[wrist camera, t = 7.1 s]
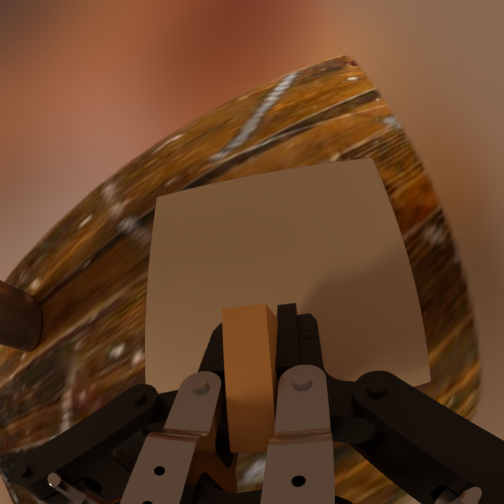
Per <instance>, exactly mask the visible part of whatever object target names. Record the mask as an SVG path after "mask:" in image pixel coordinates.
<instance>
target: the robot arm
mask: <svg viewBox="0 0 504 504" xmlns="http://www.w3.org/2000/svg"><path fill="white" fill-rule="evenodd" d="M277 319H278V327H277V345H276V361H275V370H276V374H277V379H278V396H277V408H276V419H275V430H274V435H273V437H270V439H269V443H268V449H267V457H266V466H265V473H264V481H263V488H262V489H260V490H255V491H249V492H243V493H237V481H236V477H235V468H236V462H237V456H238V452H230V442H229V429H228V416H227V402H226V387H225V370H224V351H223V329H222V323H220V324H219V325H218V326H217V327H216V328H215V329H214V330H213V332H212V335H211V337H210V342H209V343H208V345H207V349H206V351H205V353H204V356H203V359H202V361H201V364H200V367H199V369H198V372H197V373H194V374H192V375H190V376H188V377H187V378H186V379H185V380H184V381H183V382H182V383H181V385H180V388H179V389H178V390H174V391H169V392H164V393H159V394H158V392H157V390H156V389H155V388H154V387H153V386H152V385H149V384H139V385H135V386H133V387H131V388H130V389H128V390H127V391H125V392H124V393H122V394H121V395H119V396H118V397H116V398H115V399H113V400H112V401H111V402H109V403H108V404H106V405H105V406H103V407H102V408H100V409H99V410H97V411H96V412H94V413H93V414H91V415H90V416H88V417H86V418H85V419H83V420H82V421H80V422H79V423H77V424H76V425H74V426H73V427H71V428H69V429H68V430H66V431H65V432H63V433H62V434H60V435H58V436H57V437H55V438H54V439H52V440H50V441H49V442H47V443H45V444H44V445H42V446H40V447H39V448H37V449H35V450H34V451H32V452H30V453H29V454H27V455H25V456H24V457H22V458H20V459H19V460H18V461H17V462H16V463H15V465H14V468H13V478H14V481H15V482H16V483H17V484H18V485H19V486H20V487H22V488H23V489H24V490H26V491H27V492H28V493H30V494H31V495H32V496H33V497H35V499H36V500H37V502H38V504H108V503H110V502H111V501H113V500H114V499H116V498H117V497H119V496H120V495H122V494H123V493H124V494H123V496H122V499H121V500H120V501H118V502H116V503H114V504H353V503H351V502H350V501H348V500H346V499H343V498H341V497H338V496H335V489H334V462H333V444H332V441H337V442H345V443H350V445H351V446H352V447H353V448H354V449H355V450H356V451H357V452H359V453H360V454H361V455H362V456H363V457H364V458H365V459H366V460H368V461H369V462H370V463H371V464H372V465H373V466H375V467H376V468H377V469H378V470H379V471H381V472H382V473H383V474H384V475H385V476H387V477H388V478H389V479H390V480H391V481H393V482H394V483H395V484H396V485H398V486H399V487H400V488H401V489H403V490H404V491H405V492H407V493H408V494H409V495H410V496H412V497H413V498H414V499H416V500H417V501H418V502H420V503H421V504H504V441H503V440H501V439H500V438H498V437H496V436H494V435H493V434H491V433H489V432H487V431H486V430H484V429H482V428H480V427H479V426H477V425H475V424H474V423H472V422H470V421H469V420H467V419H465V418H463V417H462V416H460V415H458V414H457V413H455V412H453V411H452V410H450V409H448V408H447V407H445V406H443V405H442V404H440V403H439V402H437V401H435V400H434V399H432V398H430V397H429V396H427V395H426V394H424V393H422V392H421V391H419V390H417V389H416V388H414V387H413V386H411V385H409V384H408V383H406V382H405V381H403V380H402V379H400V378H398V377H397V376H395V375H394V374H392V373H390V372H387V371H380V370H378V371H371V372H367V373H365V374H363V375H362V376H360V377H359V378H358V379H357V380H356V381H355V382H354V381H343V380H339V379H336V378H333V377H332V376H330V375H329V374H328V373H327V372H326V371H325V369H324V365H323V358H322V351H321V344H320V338H319V331H318V324H317V320H316V319H315V318H314V316H313V315H312V314H311V313H307V314H300V315H298V313H297V307H296V303H289V304H281V305H278V306H277ZM41 329H42V313H41V309H40V306H39V304H38V302H37V301H35V300H34V298H33V295H31V294H29V293H27V292H24V291H22V290H20V289H18V288H16V287H14V286H11V285H9V284H7V283H5V282H3V281H1V280H0V344H1V345H5V346H8V347H12V348H16V349H19V350H23V351H28V352H30V351H32V350H33V349H34V348H35V347H36V345H37V343H38V341H39V338H40V334H41ZM138 430H140V431H141V432H142V433H143V435H142V436H141V437H139V438H138V439H136V440H135V441H134V442H132V443H131V444H129V445H128V446H127V447H125V448H124V449H122V450H120V451H113V450H112V449H113V448H114V447H116V446H117V445H119V444H120V443H122V442H123V441H124V440H126V439H127V438H129V437H130V436H131V435H133V434H134V433H136V432H137V431H138Z"/></svg>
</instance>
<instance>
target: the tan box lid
mask: <svg viewBox="0 0 504 504" xmlns="http://www.w3.org/2000/svg"><path fill="white" fill-rule="evenodd" d="M289 303H296V307H297V313H298V315H300V314H307V313H311V314H312V315H313V316H314V318H315V319H316V320H317V324H318V331H319V338H320V344H321V351H322V358H323V365H324V369H325V371H326V372H327V373H328V374H329V375H330V376H332V377H333V378H336V379H339V380H343V381H354V382H355V381H356V380H357V379H358V378H359V377H360V376H362V375H363V374H365V373H367V372H371V371H378V370H380V371H387V372H390V373H392V374H394V375H399V374H403V373H407V372H410V371H414V370H418V369H421V368H424V367H428V366H429V363H428V355H427V347H426V340H425V333H424V327H423V322H422V316H421V311H420V306H419V301H418V296H417V292H416V287H415V283H414V279H413V275H412V271H411V267H410V263H409V260H408V256H407V253H406V249H405V246H404V242H403V239H402V236H401V233H400V230H399V227H398V224H397V221H396V218H395V215H394V212H393V209H392V206H391V203H390V201H389V198H388V195H387V193H386V190H385V188H384V185H383V183H382V180H381V178H380V175H379V173H378V170H377V168H376V166H375V163H374V161H373V159H372V158H366V159H357V160H348V161H340V162H332V163H324V164H317V165H310V166H304V167H297V168H291V169H285V170H279V171H273V172H268V173H262V174H257V175H252V176H246V177H241V178H236V179H232V180H227V181H222V182H218V183H213V184H209V185H204V186H200V187H196V188H192V189H187V190H183V191H179V192H175V193H171V194H168V195H164V196H160V197H157V201H156V208H155V215H154V223H153V231H152V239H151V249H150V259H149V270H148V284H147V301H146V328H145V371H146V384H149V385H152V386H153V387H154V388H155V389H156V390H157V392H158V394H159V393H164V392H169V391H174V390H178V389H179V388H180V385H181V383H182V382H183V381H184V380H185V379H186V378H187V377H188V376H190V375H192V374H194V373H197V372H198V369H199V367H200V364H201V361H202V359H203V356H204V353H205V351H206V349H207V345H208V343H209V342H210V337H211V335H212V332H213V330H214V329H215V328H216V327H217V326H218V325H219V324H220V323H222V329H223V351H224V370H225V387H226V402H227V416H228V429H229V442H230V452H238V453H267V449H268V443H269V439H270V437H273V435H274V430H275V419H276V408H277V396H278V379H277V374H276V370H275V361H276V345H277V327H278V319H277V306H278V305H281V304H289Z"/></svg>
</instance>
